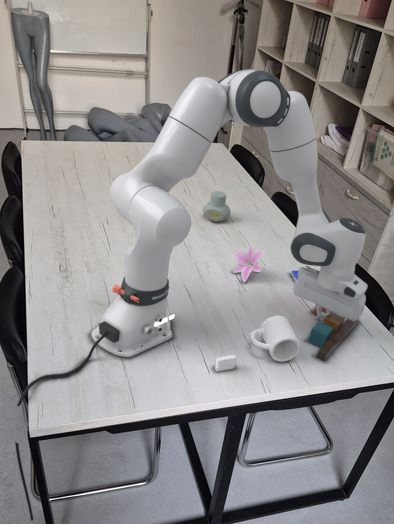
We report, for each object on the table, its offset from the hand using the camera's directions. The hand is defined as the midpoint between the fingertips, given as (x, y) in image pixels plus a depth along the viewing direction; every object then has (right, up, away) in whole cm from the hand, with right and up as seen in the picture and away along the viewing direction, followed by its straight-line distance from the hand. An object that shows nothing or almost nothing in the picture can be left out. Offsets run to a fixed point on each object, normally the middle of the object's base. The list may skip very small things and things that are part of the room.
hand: (320, 318), depth 142 cm
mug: (-16, -9, -10) cm, 21 cm away
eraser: (-29, -14, -18) cm, 37 cm away
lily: (-20, +16, +20) cm, 32 cm away
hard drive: (+1, +12, +19) cm, 23 cm away
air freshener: (-29, +43, +51) cm, 73 cm away
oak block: (+3, -3, 0) cm, 4 cm away
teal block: (-2, -7, -5) cm, 8 cm away
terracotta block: (+2, +2, +7) cm, 7 cm away
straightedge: (+4, -6, -3) cm, 8 cm away
